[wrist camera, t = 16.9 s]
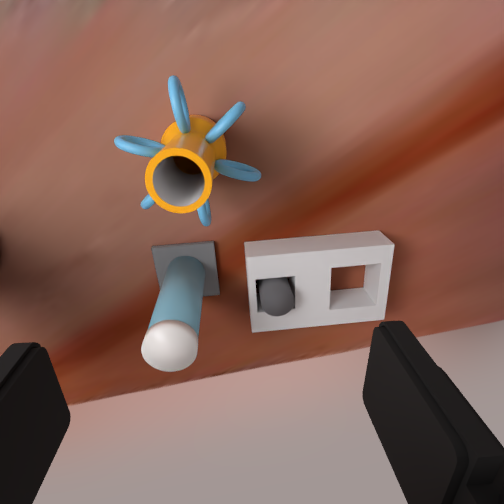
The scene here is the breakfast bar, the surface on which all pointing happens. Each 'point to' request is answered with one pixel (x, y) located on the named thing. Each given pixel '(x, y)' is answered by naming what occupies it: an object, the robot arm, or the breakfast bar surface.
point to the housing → (320, 278)
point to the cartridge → (176, 317)
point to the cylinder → (187, 158)
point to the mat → (196, 250)
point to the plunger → (275, 296)
